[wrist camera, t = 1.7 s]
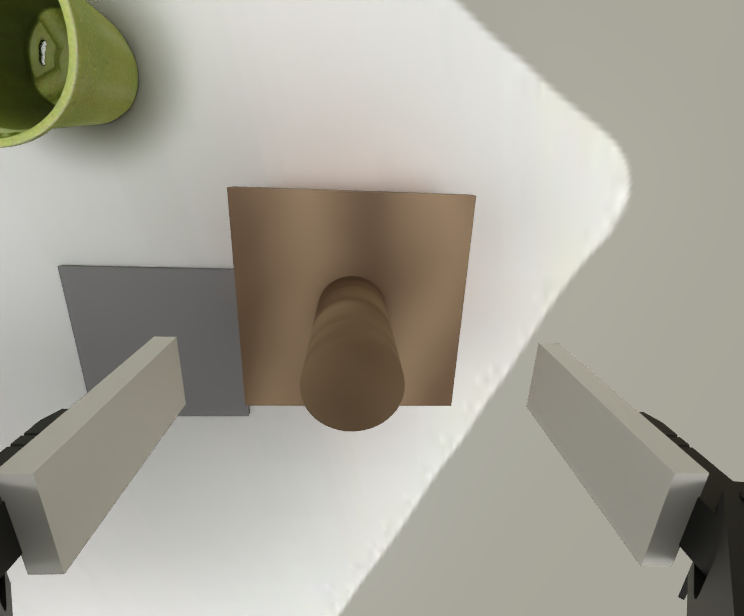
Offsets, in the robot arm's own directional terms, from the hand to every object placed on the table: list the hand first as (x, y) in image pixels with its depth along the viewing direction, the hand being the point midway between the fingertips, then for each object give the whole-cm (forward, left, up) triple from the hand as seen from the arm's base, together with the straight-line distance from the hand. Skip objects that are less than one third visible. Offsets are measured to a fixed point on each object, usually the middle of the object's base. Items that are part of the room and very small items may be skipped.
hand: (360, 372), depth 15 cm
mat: (-14, -6, -15) cm, 22 cm away
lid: (0, 0, -8) cm, 8 cm away
